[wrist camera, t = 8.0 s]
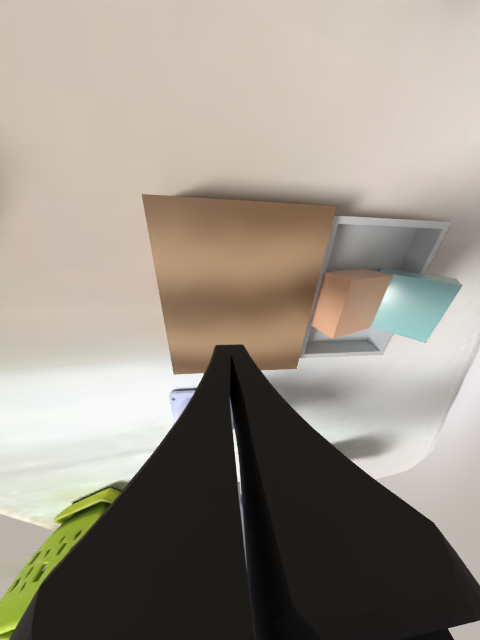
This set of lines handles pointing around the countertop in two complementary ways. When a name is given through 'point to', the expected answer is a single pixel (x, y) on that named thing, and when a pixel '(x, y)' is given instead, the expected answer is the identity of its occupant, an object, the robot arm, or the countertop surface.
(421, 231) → the tray
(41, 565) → the flower pot
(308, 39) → the countertop surface
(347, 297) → the terracotta tile
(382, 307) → the teal tile
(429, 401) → the countertop surface
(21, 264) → the countertop surface
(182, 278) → the walnut board
